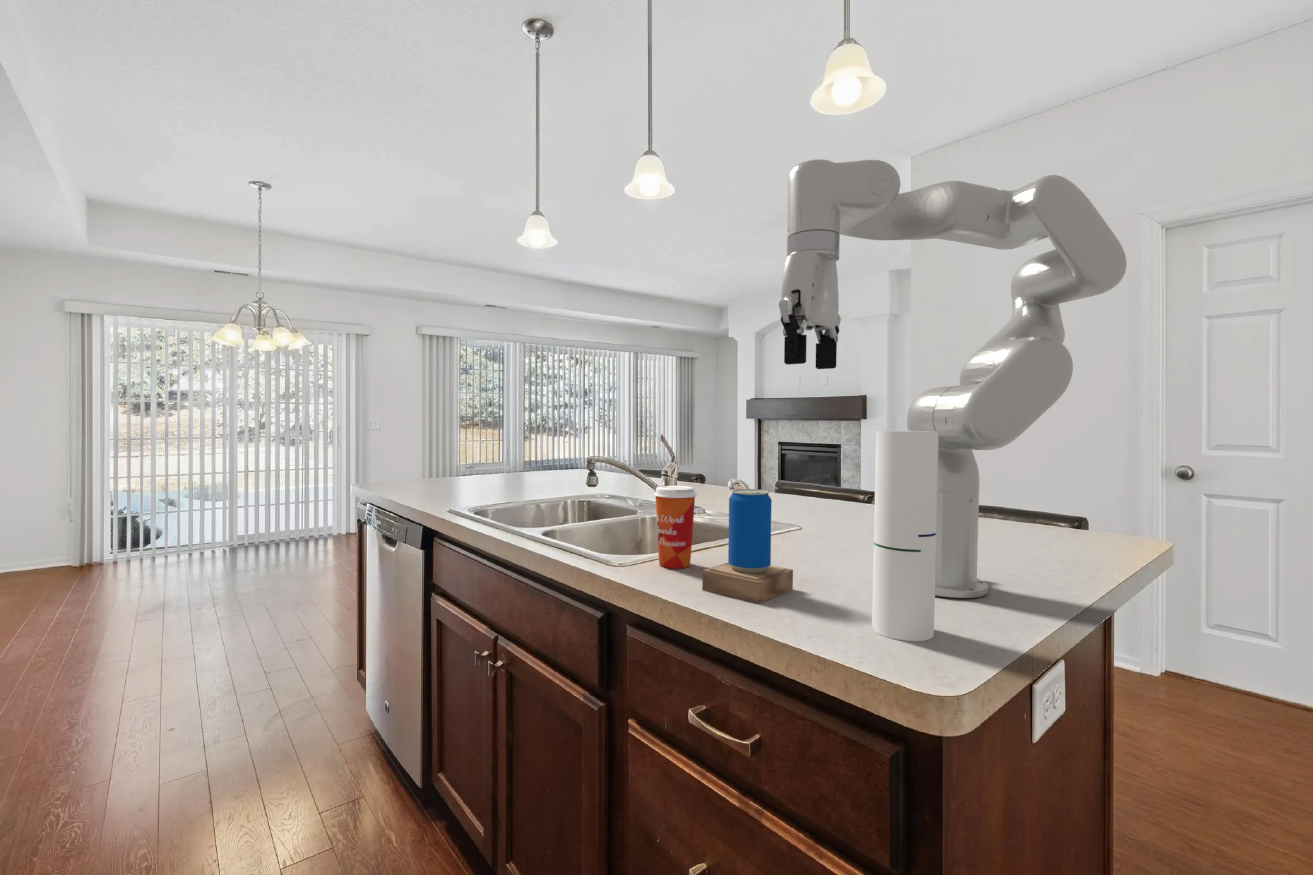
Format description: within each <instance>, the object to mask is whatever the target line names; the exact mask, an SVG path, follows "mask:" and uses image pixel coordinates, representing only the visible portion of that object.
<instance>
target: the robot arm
mask: <svg viewBox="0 0 1313 875" xmlns="http://www.w3.org/2000/svg"><path fill="white" fill-rule="evenodd" d="M900 189H901V177H900V175H899V172H898V171H897V169H896V168H895V167H894V166H893V165H891V164H890V163H888V162H886V161H884V160H878V159H864V160H863V159H862V160H854V161H845V162H844V161H843V162H834V161H832V160H828V159H821V158H820V159H811V160H807V161H803V162H800V163H798V164H796V165H795V166H794V167H793V168H792V169H791V170H790V172H789V174H788V180H787V235H786V236H787V239H786V241H787V242H786V245H787V246H786V259H785V263H784V267H783V275H782V285H781V295H780V297H781V298H780V300H779V302H778V307H779V312H780V322H781V324H782V327H783V328H782V335H783V337H784V354H783V355H784V356H783V357H784V358H783V362H784V364H785V365H800V364H803V365H804V364H806V363H807V340H808V339H807V338H808V337H807V334H805V331H812V330H814V333H815V335H816V339H817V342H818V343H815V369H816V370H828V369H830V370H831V369H836V368H837V351H838V350H837V349H838V348H837V347H838V346H837V345H838V344H837V343H838V341H839V337H838V335H839V334H840V325H841V321H842V318H841V316H840V315H839V281H838V280H839V279H838V278H839V277H838V268H837V261H839V260H840V237H841V236H840V235H842V236H845V237H846V236H847V237H850V238H851V237H852V238H856V239H863V240H871V241H918V240H919V241H923V240H931V239H932V240H934V239H937V240H944V241H950V242H957V243H963V244H969V245H974V246H978V247H985V248H991V249H996V250H1003V251H1004V250H1013V249H1018V248H1022V247H1025V246H1028V245H1029V244H1032V243H1035V242H1037V241H1040V240H1043V239H1046V238H1048V239H1049V240H1050V242H1051V243H1052V245H1053V246H1054V248H1055V249H1052V250H1050V251H1046V252H1043V253H1041V254H1037V255H1036V256H1034V257H1031V258H1030V259H1027V260H1026V261H1024V262H1023V263H1022V264H1021V265H1020V266H1019V267H1018V268H1017V270H1015V271H1014V272H1015V273H1014V274H1013V276H1012V279H1011V284H1010V296H1011V303H1012V314H1011V318H1010V320H1008V322H1007V323H1006V324H1005V325H1004V326H1003V327H1002V328H1001V329H1000V330H998V332H997V333H996V334H994V336H992V337H991V338H990V339H989V340H988V341H987V342H986V343H985V344H983V345H982V346H981V347H980V348H979V349H978V350H976V351H975V352H974V353H973V354H972V355H971V356H970V357H969V358H968V359H967V361H965V363H964V365H963V366H962V368H961V371H960V374H959V384H960V385H949V386H937V387H933V388H930V389H928V390H926V391H923V392H922V393H920V394H919V395H917V396H916V397H915V398H914V399H913V401H912V402H911V404H910V406H909V408H908V411H907V416H906V427H907V431H937V432H939V435H938V479H937V521H936V564H935V597H942V598H952V599H972V598H975V599H976V598H981V597H983V596H986V595H987V594H988V592H989V585H988V584H987V582H986V581H984V580H982V579H980V578H978V550H979V549H978V547H979V513H980V512H979V510H980V507H979V506H980V504H979V503H980V472H979V468H978V464H977V460H976V457H975V455H974V452H973V451H993V450H994V451H995V450H997V449H1001V448H1004V447H1006V446H1007V445H1009V444H1011V443H1012V442H1014V441H1015V440H1016V439H1018V438H1019V437H1020V436H1021V435H1023V433H1024V432H1026V430H1027V429H1029V428H1030V427H1031V426H1032V425H1033V424H1034V423H1036V421H1038V420H1039V419H1040V417H1041V416H1042V415H1044V414H1045V413H1046V412H1047V411H1048V410H1049V409H1050V408H1051V407H1052V406H1053V405H1055V403H1057V401H1058V400H1059V399H1060V398H1061V397H1062V396H1063V395H1064V393H1065V392H1066V390H1067V389H1068V387H1069V385H1070V384H1071V383H1070V382H1071V380H1072V376H1073V371H1074V369H1073V368H1074V367H1073V366H1074V363H1073V358H1072V356H1071V352H1070V351H1069V350H1068V348H1067V347H1066V346H1065V345H1064V344H1063V343H1064V341H1065V337H1066V336H1065V335H1066V333H1065V332H1066V331H1065V328H1064V323H1063V319H1062V313H1061V309H1060V304H1064V303H1069V302H1071V301H1077V300H1081V299H1085V298H1090V297H1091V298H1092V297H1095V296H1099V295H1102V294H1104V293H1107V292H1109V291H1111V290H1113V288H1115V287H1117V285H1119V283H1120V282H1122V280H1123V278H1124V276H1125V274H1126V271H1127V264H1128V263H1127V256H1126V253H1125V250H1124V248H1123V245H1122V244H1121V242H1120V241H1119V239H1118V237H1117V236H1116V235H1115V233H1114V232H1113V231H1112V229H1111V228H1110V227H1109V224H1108V223H1107V222H1106V221H1105V219H1104V218H1103V216H1101V214H1100V211H1098V210H1097V208H1096V207H1095V205H1094V204H1093V203H1092V202H1091V200H1090V199H1089V198H1088V197H1087V196H1086V194H1085V193H1084V192H1083V191H1082V189H1080V188H1079V187H1078V186H1077V185H1076V184H1075V183H1073V182H1072V181H1071V180H1069V179H1068V178H1066V177H1063V176H1062V175H1059V174H1058V175H1056V174H1050V175H1046V176H1043V177H1041V178H1038V179H1036V180H1034V181H1032V182H1030V183H1028V184H1026V185H1024V186H1022V187H1020V188H1018V189H1013V190H1007V189H1001V188H996V187H990V186H985V185H979V184H975V183H971V182H967V181H962V180H961V181H960V180H949V181H943V182H938V183H933V184H929V185H927V186H924V187H921V188H917V189H915V190H911V191H906V192H901V193H899V192H900ZM823 331H824V333H823Z"/></svg>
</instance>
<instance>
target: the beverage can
mask: <svg viewBox="0 0 1313 875" xmlns="http://www.w3.org/2000/svg"><path fill="white" fill-rule="evenodd" d="M769 492H770V491H768V490H765V489H756V488H755V489H754V488H753V489H752V488H740V489H737V488H735V489H732V491H731V495H730V496H729V498H728V545H727V546H728V554H727V556H728V558H727V559H728V560H727V563H729V565H731V566H732V567H733V569H735V570H737V571H741V572H750V573H755V572H762V571H765V570H766V568H767V567H769V566H770V565H772V564H771V560H772V559H771V556H772V550H771V549H772V502H773V501H772V498H771V496H770V495H769Z"/></svg>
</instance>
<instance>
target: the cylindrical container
mask: <svg viewBox="0 0 1313 875" xmlns="http://www.w3.org/2000/svg"><path fill="white" fill-rule="evenodd" d="M938 435H939V432H937V431H908V430H875V460H874V461H875V466H874V468H875V469H874V480H875V481H874V509H873V510H874V518H873V519H874V520H873V522H874V523H873V526H874V527H873V560H872V561H873V564H872V565H873V566H872V569H873V570H872V608H871V609H872V612H871V613H872V614H871V616H872V620H871V625H872V626H871V628H872V630H873V631H874V632H875V633H877V634H879V635H881V636H884V637H886V638H889V639H894V640H898V641H904V642H924V641H929V640H932V639H933V638H934V636H935V600H936V599H935V597H936V596H935V564H936V521H937V479H938Z"/></svg>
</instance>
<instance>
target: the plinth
mask: <svg viewBox="0 0 1313 875" xmlns="http://www.w3.org/2000/svg"><path fill="white" fill-rule="evenodd" d="M701 583H702V584H701V585H702V587H701V588H702V591H705V592H709V593H714V594H717V595H718V594H719V595H723V596H726V597H730V598H733V599H738V600H744V601H747V602H750V603H754V604H761V603H762V602H765V601H767V600H770V599H773V598H774V597H777V596H779V595H782V594H783V593H784V594H785V593H786V592H789V591H792V590H793V588H794V587H793V585H794V569H791V568H790V569H789V568H786V567H781V566H775V565H772V564H771V565H770V566H769V567H767V568H766V570H765V571H762V572H755V573H750V572H741V571H737V570H735V569H733V567H732V566H731V565H729V563H728V562H725V563H722V564H720V565H715V566H713V567H709V568H706V569H703V570H702V582H701Z"/></svg>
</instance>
